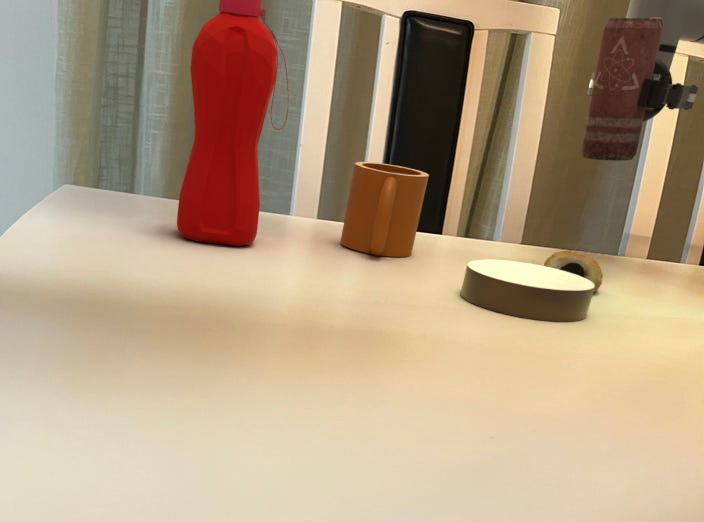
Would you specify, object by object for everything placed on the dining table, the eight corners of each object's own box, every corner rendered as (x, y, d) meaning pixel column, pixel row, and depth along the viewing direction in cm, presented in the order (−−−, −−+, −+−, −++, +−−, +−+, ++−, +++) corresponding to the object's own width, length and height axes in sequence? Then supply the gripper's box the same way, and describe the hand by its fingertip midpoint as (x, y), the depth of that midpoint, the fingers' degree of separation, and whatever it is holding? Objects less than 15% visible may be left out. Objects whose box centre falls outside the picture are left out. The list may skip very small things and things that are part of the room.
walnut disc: (613, 320, 103) (622, 290, 101) (519, 323, 97) (527, 291, 95) (525, 287, 112) (533, 259, 111) (435, 288, 106) (441, 258, 105)
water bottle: (271, 253, 112) (306, -12, 99) (173, 240, 112) (196, -27, 99) (269, 237, 120) (301, -9, 107) (178, 226, 120) (199, -23, 107)
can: (646, 161, 115) (676, 17, 108) (592, 160, 115) (619, 16, 107) (624, 155, 120) (652, 17, 113) (572, 154, 120) (597, 16, 112)
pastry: (542, 272, 121) (551, 239, 119) (599, 283, 120) (609, 250, 118) (537, 286, 113) (547, 251, 111) (598, 298, 112) (609, 262, 110)
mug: (324, 251, 117) (338, 167, 112) (349, 237, 127) (363, 159, 122) (399, 265, 115) (416, 180, 110) (419, 250, 125) (435, 171, 120)
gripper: (682, 129, 131) (701, 140, 112) (577, 114, 134) (578, 122, 114) (702, 63, 128) (726, 63, 108) (594, 49, 130) (598, 46, 110)
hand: (650, 93), depth 111 cm, fingers closed on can
